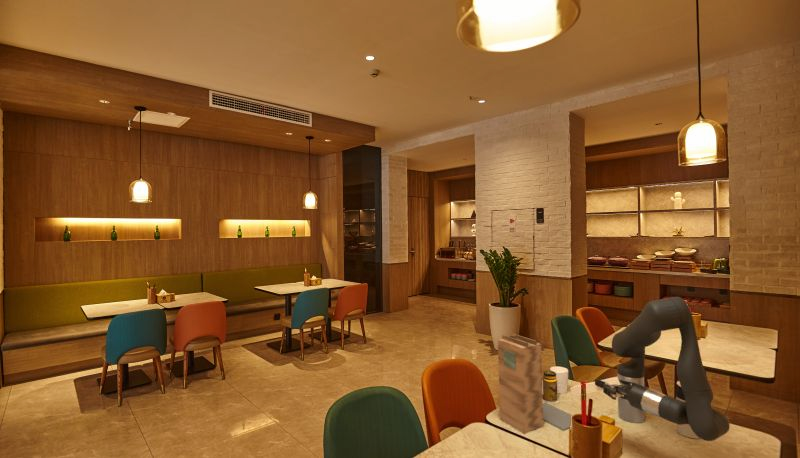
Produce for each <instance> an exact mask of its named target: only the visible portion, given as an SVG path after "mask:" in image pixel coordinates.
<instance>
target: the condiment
mask: <svg viewBox="0 0 800 458" xmlns="http://www.w3.org/2000/svg"><path fill="white" fill-rule="evenodd" d="M558 394H559V393H557V379H556V373H555V372H554V371H550V370H544V371H543V372H542V396H543V403H553V404H554V403H555V404H559V403H560V401H559V396H558Z"/></svg>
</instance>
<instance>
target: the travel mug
mask: <svg viewBox="0 0 800 458" xmlns="http://www.w3.org/2000/svg"><path fill="white" fill-rule="evenodd" d="M676 385H677V388H676V390H675V399H678V400H680V401H683V402H685V395H684V393H683V390H682V387H681V385H680V382H679V380H677V382H676ZM676 432H677V433H679V434H680V435H682V436H684V437H685V438H690V439H694V440H695V439H696V440H697V439H700V438H699V437H698V436H697V435H696V434H695V433H694V432H693V431H692V429H691V427H690V425H689V424H682V425H679V424H676Z"/></svg>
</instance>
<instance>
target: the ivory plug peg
mask: <svg viewBox="0 0 800 458" xmlns="http://www.w3.org/2000/svg"><path fill="white" fill-rule="evenodd" d="M600 380H601V379H600ZM601 381H603V382H606V383H609V384H617V385H621V384H620V383H619V380H618V377H617V376H614V377H609V378H608V379H604V380H601ZM585 384H586V394H590V393H595V392H601V391H602V392H603V388H601V387H598V386H596V385H595V381H592V382H586V383H585ZM581 385H582V384H577V385H575V386H571V387H570V388H569V389H570V391H571V395H572V396H573V397H578V396H581ZM610 388H611V387H610ZM615 388H616V387H615ZM586 394H585V395H586Z"/></svg>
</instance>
